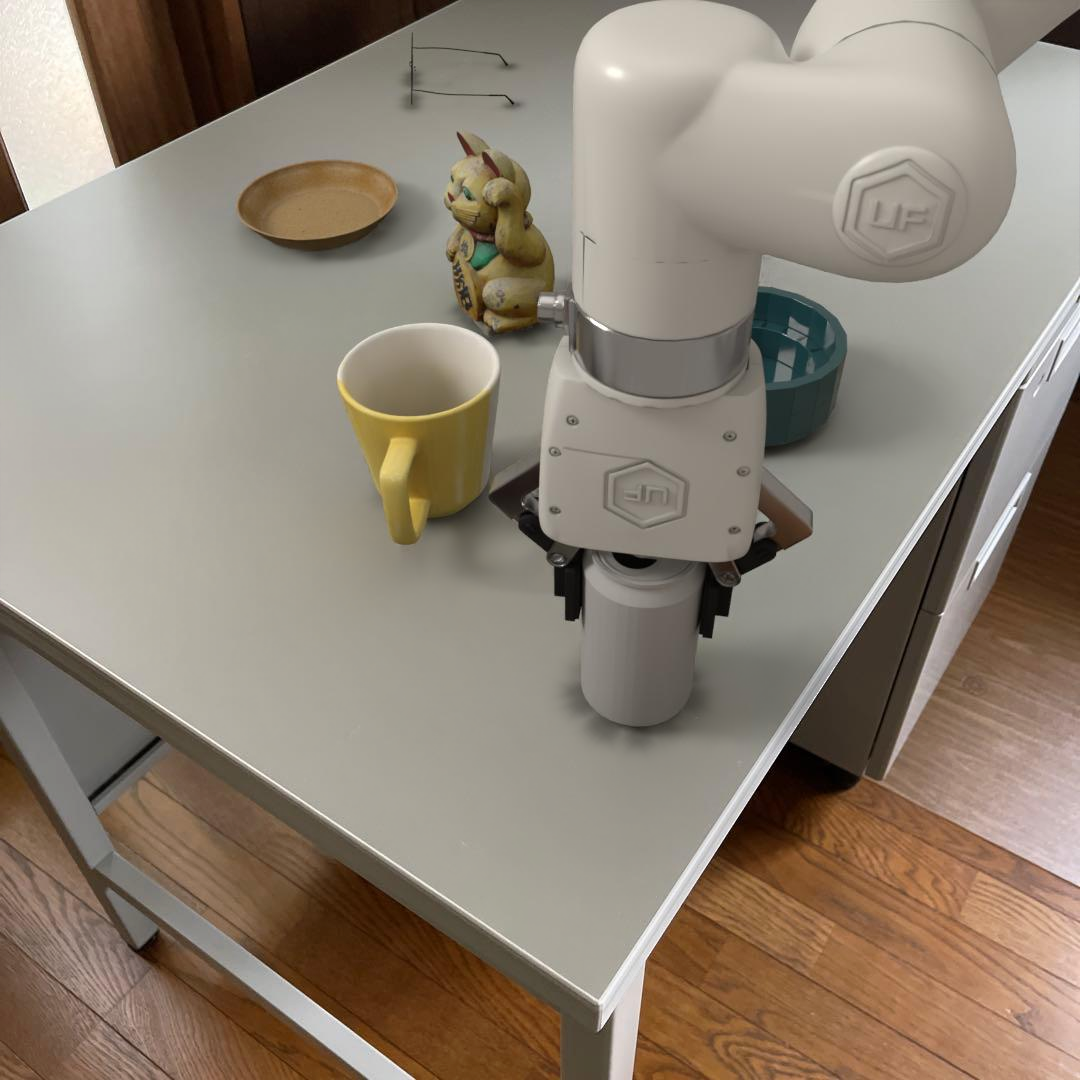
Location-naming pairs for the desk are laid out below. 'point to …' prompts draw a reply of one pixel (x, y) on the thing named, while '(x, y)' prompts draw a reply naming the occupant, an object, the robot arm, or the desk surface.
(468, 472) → the mug
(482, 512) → the desk surface
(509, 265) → the decorative figurine
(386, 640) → the desk surface
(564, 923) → the desk surface
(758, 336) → the bowl
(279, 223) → the plant saucer
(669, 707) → the beverage can
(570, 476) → the robot arm
